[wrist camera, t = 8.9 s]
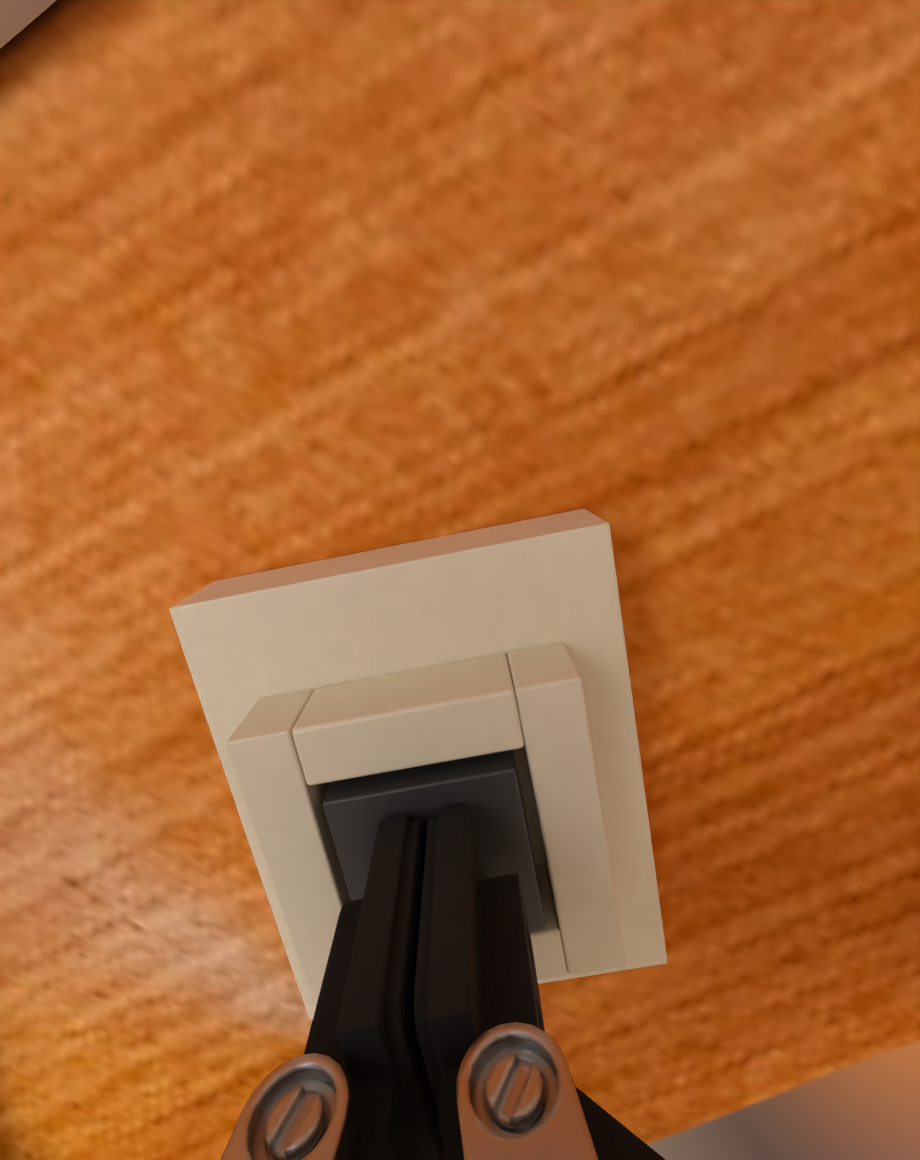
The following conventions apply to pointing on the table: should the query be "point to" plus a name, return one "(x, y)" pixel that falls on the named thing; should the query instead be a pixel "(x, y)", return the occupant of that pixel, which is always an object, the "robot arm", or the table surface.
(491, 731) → the key block
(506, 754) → the black key
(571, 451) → the table surface
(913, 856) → the table surface
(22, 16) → the smartphone
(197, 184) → the table surface
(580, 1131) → the robot arm
